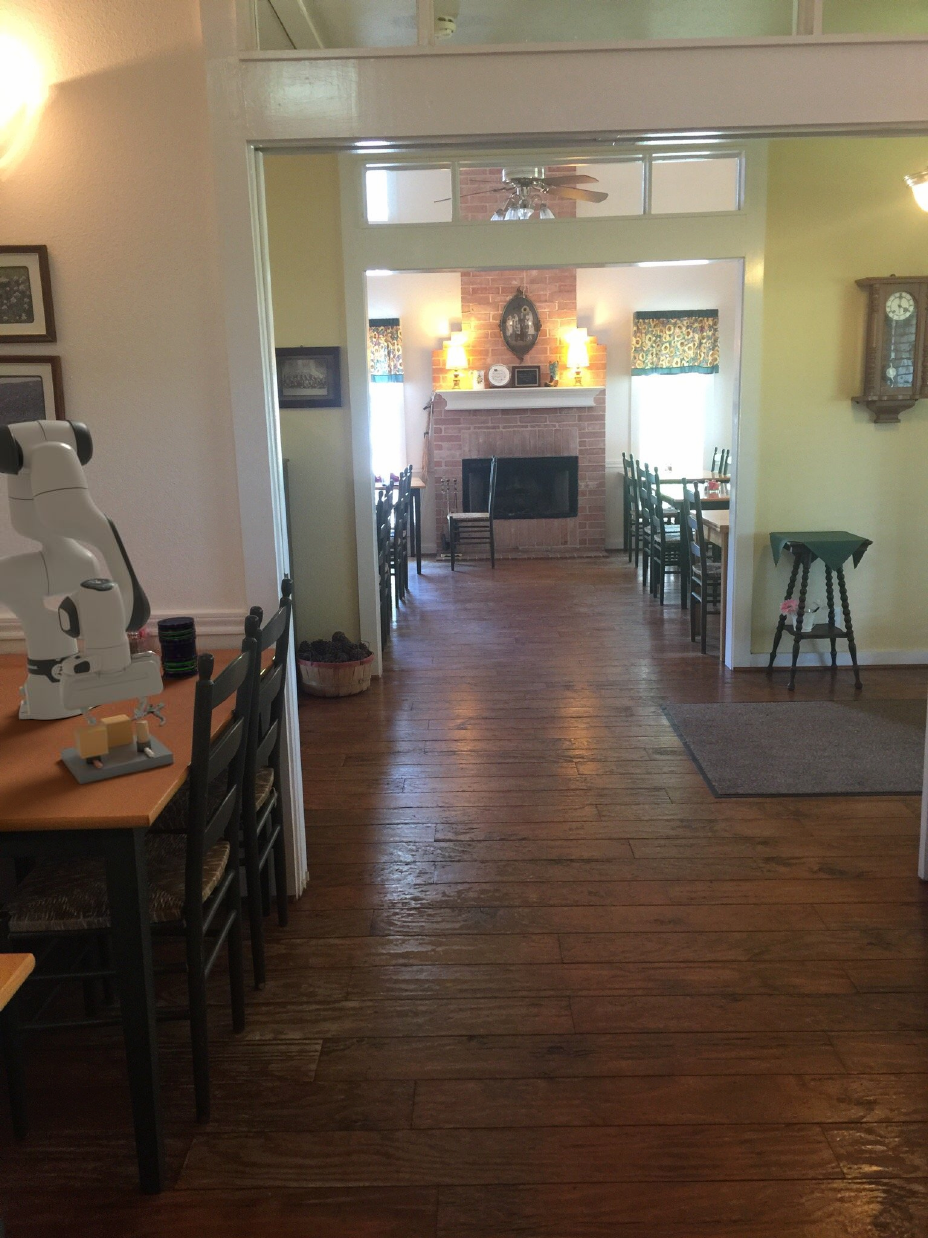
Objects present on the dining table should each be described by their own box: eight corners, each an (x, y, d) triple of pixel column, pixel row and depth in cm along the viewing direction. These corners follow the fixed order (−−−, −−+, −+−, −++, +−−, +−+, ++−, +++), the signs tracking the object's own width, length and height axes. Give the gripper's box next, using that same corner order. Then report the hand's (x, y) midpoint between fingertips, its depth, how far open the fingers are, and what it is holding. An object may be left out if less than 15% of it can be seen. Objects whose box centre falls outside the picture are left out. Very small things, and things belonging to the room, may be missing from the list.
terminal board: (61, 759, 203) (56, 718, 201) (149, 740, 213) (144, 701, 211) (80, 784, 188) (74, 740, 186) (173, 763, 198) (169, 721, 196)
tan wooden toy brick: (103, 741, 207) (100, 718, 206) (127, 736, 209) (124, 714, 208) (109, 747, 203) (106, 724, 202) (133, 742, 205) (130, 719, 204)
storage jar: (202, 668, 273) (196, 615, 270) (197, 677, 263) (192, 623, 260) (165, 671, 272) (159, 618, 269) (159, 680, 262) (153, 625, 259)
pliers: (121, 729, 220) (122, 705, 238) (121, 733, 220) (122, 709, 238) (166, 723, 222) (164, 700, 241) (166, 727, 223) (164, 703, 241)
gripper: (154, 647, 210) (162, 709, 213) (53, 663, 199) (62, 729, 202) (162, 651, 205) (170, 715, 207) (59, 669, 194) (68, 736, 197)
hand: (116, 722), depth 205 cm, fingers open, 8 cm apart
